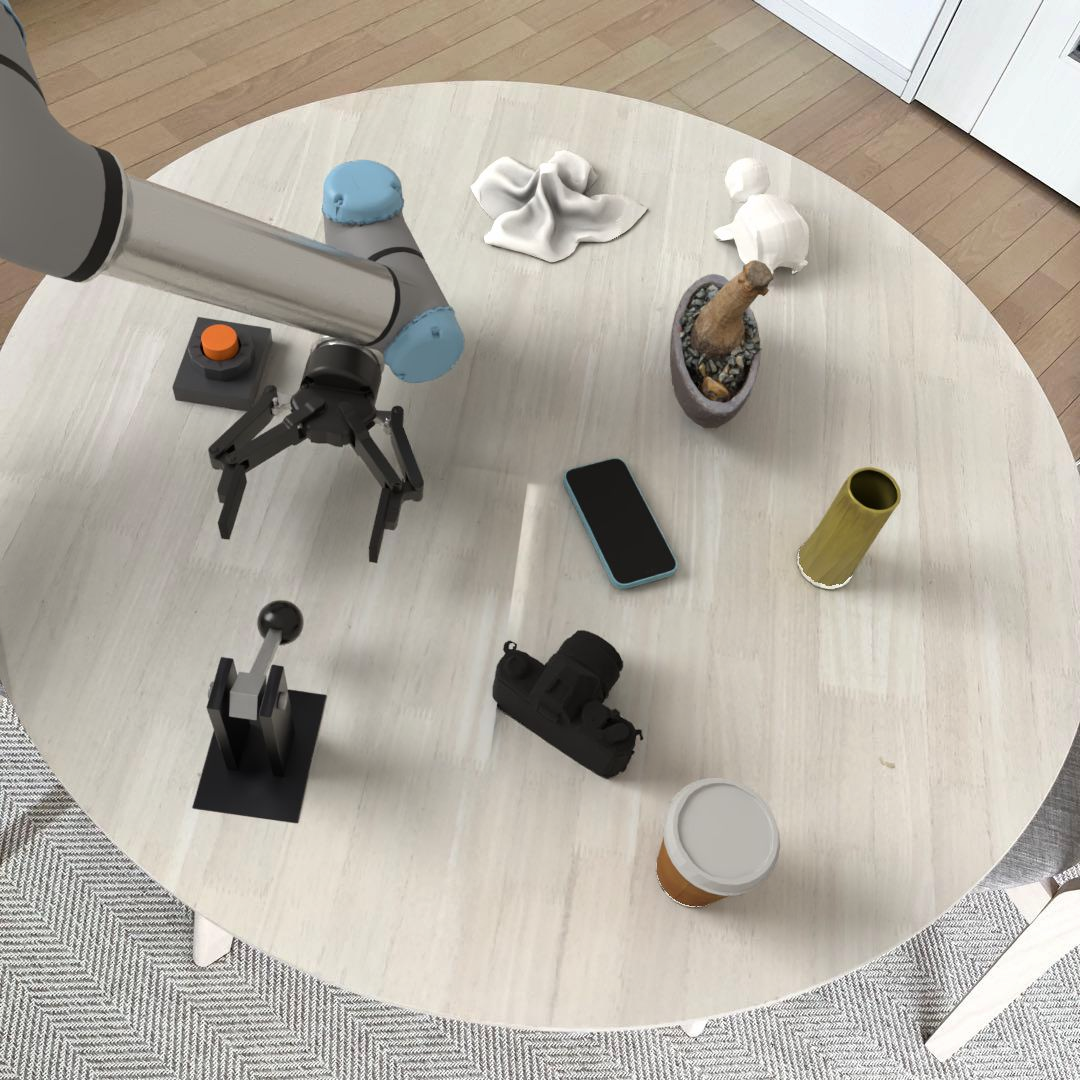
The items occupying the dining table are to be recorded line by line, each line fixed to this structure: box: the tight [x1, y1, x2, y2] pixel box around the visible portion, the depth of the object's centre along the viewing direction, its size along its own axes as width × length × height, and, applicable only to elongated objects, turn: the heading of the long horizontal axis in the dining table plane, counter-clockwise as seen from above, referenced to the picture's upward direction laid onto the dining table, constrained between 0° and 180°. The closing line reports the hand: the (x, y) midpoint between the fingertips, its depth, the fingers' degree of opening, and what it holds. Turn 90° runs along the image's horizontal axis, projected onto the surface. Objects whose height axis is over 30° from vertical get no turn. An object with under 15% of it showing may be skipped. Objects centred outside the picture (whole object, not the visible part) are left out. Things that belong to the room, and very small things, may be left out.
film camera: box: [492, 629, 645, 779], centre depth 103 cm, size 15×10×9 cm, turn 56°
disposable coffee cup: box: [656, 777, 781, 908], centre depth 95 cm, size 10×10×12 cm
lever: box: [229, 599, 305, 720], centre depth 95 cm, size 14×4×4 cm, turn 175°
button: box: [201, 324, 239, 361], centre depth 119 cm, size 4×4×2 cm
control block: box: [171, 316, 273, 412], centre depth 121 cm, size 8×10×4 cm
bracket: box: [191, 656, 327, 824], centre depth 94 cm, size 12×9×15 cm
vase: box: [799, 466, 902, 586], centre depth 112 cm, size 6×6×14 cm
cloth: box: [470, 149, 630, 263], centre depth 139 cm, size 22×19×6 cm
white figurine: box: [713, 157, 810, 276], centre depth 139 cm, size 9×8×15 cm
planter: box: [669, 260, 775, 430], centre depth 120 cm, size 15×17×20 cm
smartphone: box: [563, 457, 678, 590], centre depth 117 cm, size 7×1×15 cm
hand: (298, 543), depth 103 cm, fingers open, 13 cm apart
